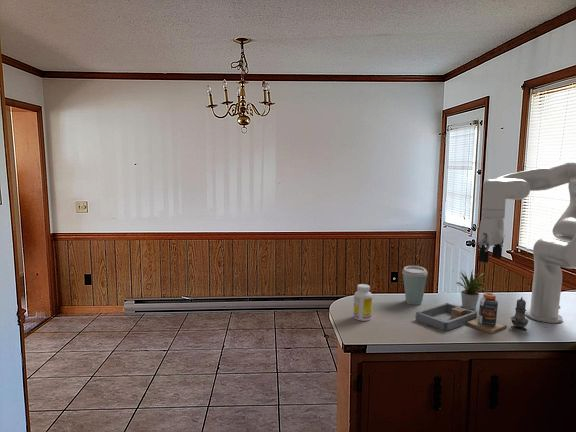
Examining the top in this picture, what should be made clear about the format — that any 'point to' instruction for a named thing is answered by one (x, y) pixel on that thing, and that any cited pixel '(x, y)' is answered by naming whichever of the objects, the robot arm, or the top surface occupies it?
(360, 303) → the supplement bottle
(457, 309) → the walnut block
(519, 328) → the stone chess piece
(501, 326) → the pad
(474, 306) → the house plant
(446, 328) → the bin
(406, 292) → the disposable coffee cup
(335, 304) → the top surface
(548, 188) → the robot arm
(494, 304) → the pill bottle
